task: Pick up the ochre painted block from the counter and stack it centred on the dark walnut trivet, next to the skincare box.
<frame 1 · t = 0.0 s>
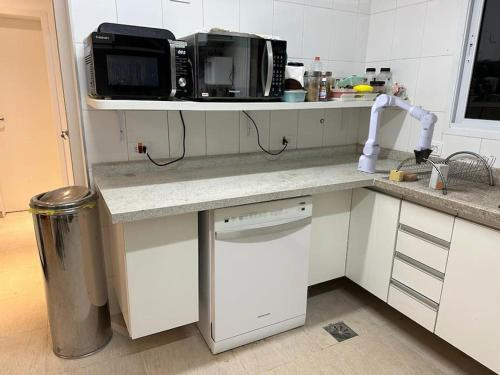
hand: (420, 163, 181), 10 cm above the worktop, tool pointing down, fingers open, 7 cm apart
block: (395, 180, 186), on the worktop
skincare box: (436, 188, 173), on the worktop
trivet: (405, 178, 190), on the worktop
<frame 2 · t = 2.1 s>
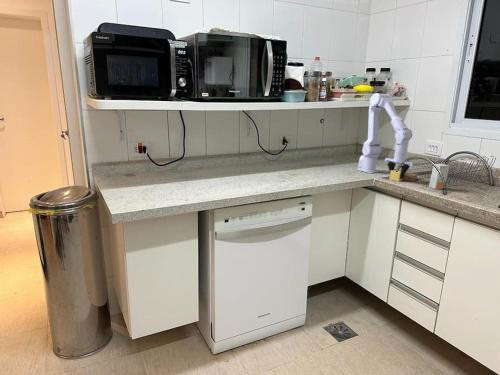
hand: (396, 177, 185), 1 cm above the worktop, tool pointing down, fingers closed on block, 5 cm apart
block: (395, 179, 186), on the worktop, touching gripper
everything else where it was.
when the fingers open (5 cm above the worktop, at t = 4.8 s): block stays where it is, resting on trivet.
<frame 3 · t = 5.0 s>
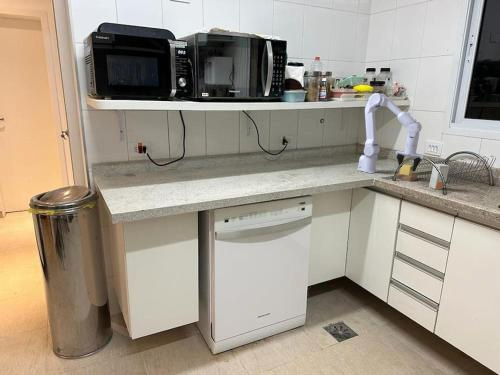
hand: (406, 169, 189), 5 cm above the worktop, tool pointing down, fingers open, 7 cm apart
block: (405, 174, 190), point 2 cm above the worktop, touching trivet
everything else where it was.
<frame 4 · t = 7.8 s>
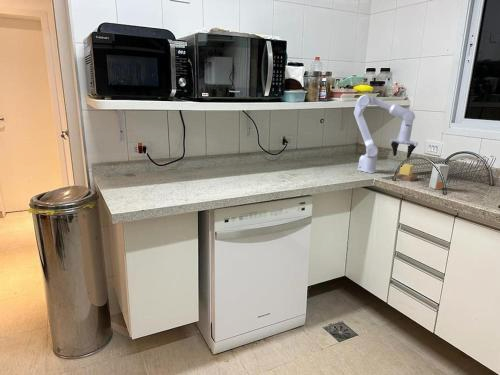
hand: (401, 156, 196), 10 cm above the worktop, tool pointing down, fingers open, 7 cm apart
nothing on the worktop moved.
at the end: block 0.3 cm off-centre on the trivet, point 2.5 cm above the trivet's base; block tilted 0°; the gripper is holding nothing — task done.
